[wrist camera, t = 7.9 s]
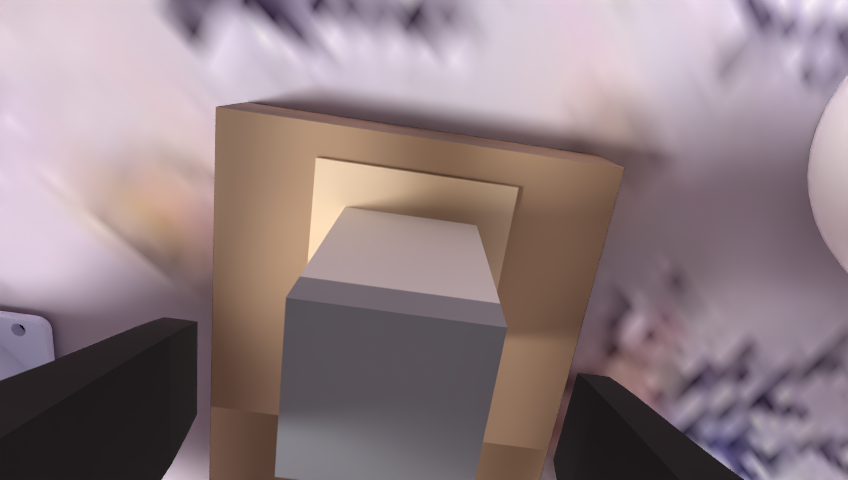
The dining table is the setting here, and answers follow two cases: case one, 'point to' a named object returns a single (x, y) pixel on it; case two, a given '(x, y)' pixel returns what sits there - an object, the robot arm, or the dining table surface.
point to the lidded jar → (831, 174)
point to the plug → (389, 352)
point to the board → (406, 195)
